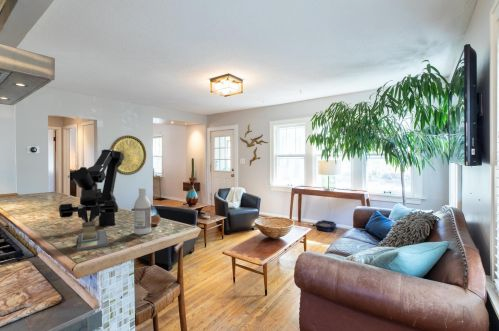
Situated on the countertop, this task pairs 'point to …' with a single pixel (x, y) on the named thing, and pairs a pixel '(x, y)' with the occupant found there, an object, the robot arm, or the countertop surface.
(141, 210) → the bath foam
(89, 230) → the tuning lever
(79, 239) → the base
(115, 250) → the countertop surface
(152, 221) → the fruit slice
